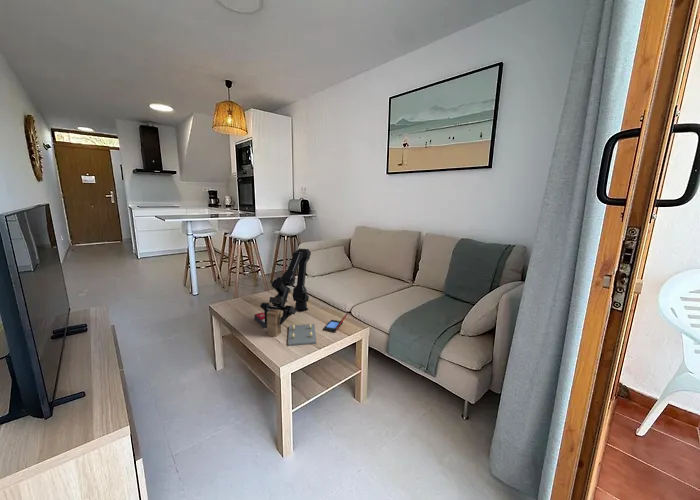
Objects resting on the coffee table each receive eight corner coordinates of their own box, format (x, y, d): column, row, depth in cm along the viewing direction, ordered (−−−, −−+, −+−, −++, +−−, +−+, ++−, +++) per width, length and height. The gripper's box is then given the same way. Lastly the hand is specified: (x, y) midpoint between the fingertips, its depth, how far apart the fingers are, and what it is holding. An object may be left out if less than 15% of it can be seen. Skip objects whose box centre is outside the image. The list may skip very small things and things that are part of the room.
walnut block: (272, 331, 158) (271, 308, 155) (281, 332, 156) (280, 309, 154) (267, 335, 153) (266, 312, 150) (276, 336, 152) (275, 313, 149)
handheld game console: (331, 321, 171) (331, 309, 169) (348, 324, 167) (348, 312, 166) (322, 330, 159) (322, 318, 158) (340, 334, 156) (340, 321, 154)
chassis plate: (289, 327, 162) (289, 321, 161) (314, 325, 165) (314, 319, 164) (287, 346, 143) (287, 339, 142) (316, 343, 145) (316, 337, 145)
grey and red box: (271, 309, 178) (282, 316, 166) (272, 315, 179) (282, 323, 167) (253, 313, 172) (263, 321, 160) (254, 320, 172) (264, 328, 161)
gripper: (260, 288, 156) (250, 315, 148) (292, 291, 151) (283, 320, 143) (269, 296, 165) (259, 323, 157) (299, 300, 160) (290, 327, 152)
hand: (272, 323), depth 152 cm, fingers open, 8 cm apart
